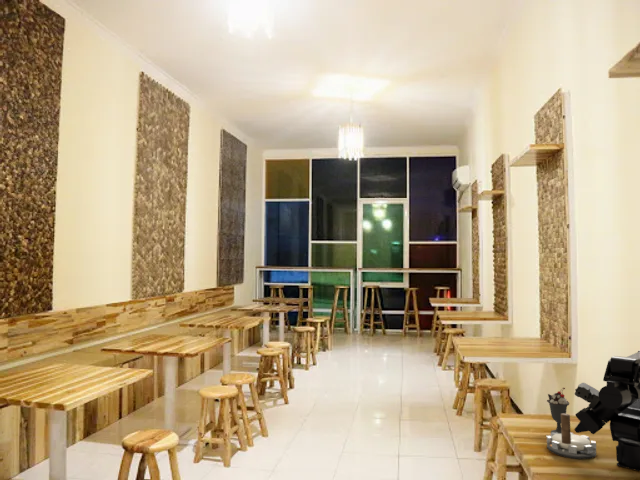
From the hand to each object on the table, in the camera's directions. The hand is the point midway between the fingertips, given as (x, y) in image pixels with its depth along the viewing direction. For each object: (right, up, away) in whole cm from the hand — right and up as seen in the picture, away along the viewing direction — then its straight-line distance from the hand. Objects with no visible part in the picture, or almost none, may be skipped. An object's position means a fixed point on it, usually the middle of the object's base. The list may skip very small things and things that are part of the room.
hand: (575, 431), depth 140 cm
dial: (+1, -6, +4) cm, 7 cm away
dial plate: (+1, -7, +4) cm, 8 cm away
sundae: (+4, -8, +19) cm, 21 cm away
